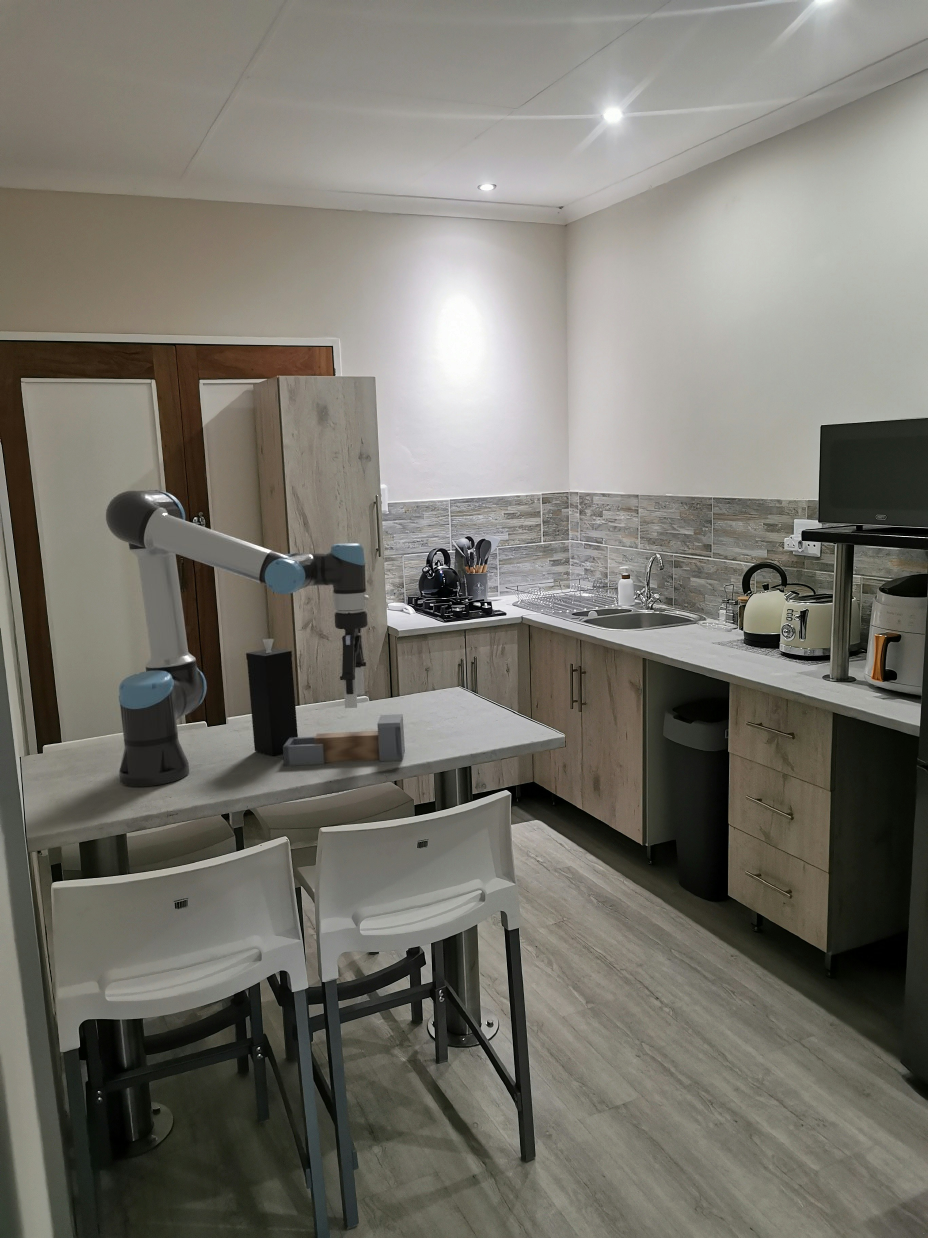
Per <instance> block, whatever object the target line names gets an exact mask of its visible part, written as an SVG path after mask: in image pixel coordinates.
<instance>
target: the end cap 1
mask: <svg viewBox="0 0 928 1238" xmlns="http://www.w3.org/2000/svg"><path fill="white" fill-rule="evenodd" d="M314 738H315V736H298V737H293V738H289V739H288V741H287V742H286V743H285V745H284V746H283V753H282V755H283V764H284V767H287V766H306V765H324V764H325V763H326V762H325V759H324V746H323V744H315V741H314Z"/></svg>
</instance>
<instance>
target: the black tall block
mask: <svg viewBox="0 0 928 1238" xmlns="http://www.w3.org/2000/svg"><path fill="white" fill-rule="evenodd" d="M274 641H275V638H263V639H262V642H263V646H264V648H265V649H261V650H256V651H250V652H246V653H245V658H246V664H247V672H248V673H247V676H248V686H249V687H248V688H249V699H250V710H251V720H252V722H251V723H252V736H253V744H254V746H253V748H254V752H256V753H258V754H262V755H263V754H264V755H267V756H270V757H274V756H279V755H283V746H284V745H285V743H286V742H287V741H288V739H289V738H293V737H299V735H298V733H299V732H298V723H297V709H296V696H295V695H296V694H295V684H294V683H295V680H294V670H293V669H294V668H293V653H292V651H293V650H289V649H284V648H283V649H282V648H274V647H273V643H274Z"/></svg>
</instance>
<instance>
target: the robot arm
mask: <svg viewBox="0 0 928 1238" xmlns="http://www.w3.org/2000/svg"><path fill="white" fill-rule="evenodd" d="M183 507H184V506H182V504H181V502H180V500H178V499H177V498H176V497H175V496H174V495H172V494H171V493H169V492H167V491H163V490H158V489H148V490H147V489H146V490H126V491H123V492H120V493H118V494H116V495H115V496H114V497H113V498H112V499H111V500H110V501H109V503H108V505H107V507H106V509H105V510H106V511H105V521H106V525H107V527H108V530H109V531H110V532H111V533H112V534H113V536H115V537H116V538H117V539H118V540H120V541H123V542H125V543H128V547H129V548H128V549H129V552H131V554H133V555H134V556H136V558H137V564H138V572H139V578H140V579H139V580H140V584H141V585H140V586H141V593H142V594H141V595H142V601H143V607H144V609H143V610H144V614H145V621H146V622H145V623H146V629H147V639H148V644H149V645H148V646H149V651H150V653H149V654H150V658H149V660H148V661H147V662H146V663H145V666H144V667H145V671H141V672H139V673H134V674H132V675H129V676H127V677H125V678H124V679H123V680H122V681H121V682H120V684H119V685H118V686H119V687H118V702H119V708H120V717H121V726H122V735H123V743H124V748H123V749H124V750H123V753H122V758H121V762H120V767H119V771H118V775H119V782H120V784H122V785H123V786H127V787H138V788H139V787H140V788H141V787H151V786H152V787H154V786H158V785H159V786H160V785H164V784H168V783H172V782H176V781H179V780H180V779H183V778H185V777H187V776H188V775H189V774H190V764H189V760H188V758H187V756H186V754H185V751H184V749H183V747H182V746H181V742H180V739H179V732H178V722H177V721H178V719H181V718H182V717H184V716H187V715H189V714H190V713H192V712H193V711H195V710H196V709H197V708H198V707H199V706H200V705H201V704H202V703H203V701H204V699H205V697H206V694H207V690H208V689H207V688H208V687H207V680H206V677H205V676H204V673H203V672H202V671H200V670H199V668H198V665H197V659H196V657H195V656H194V655H192V654H191V653H190V652H189V649H188V640H187V632H186V626H185V625H186V624H185V617H184V609H183V602H182V594H181V587H180V585H181V584H180V580H179V579H180V577H179V571H178V563H177V557H176V555H177V556H178V555H179V556H182V557H185V558H187V559H190V560H193V561H196V562H199V563H202V564H204V565H207V566H210V567H213V568H216V569H219V570H222V571H225V572H228V573H231V574H233V575H236V576H238V577H239V576H240V577H242V578H244V579H248V580H250V581H254V582H256V583H260V584H261V585H262V584H263V585H265V586H267V587H268V588H269V589H270V590H271V591H272V592H273V593H276V594H280V595H289V594H290V595H291V594H293V593H295V592H297V591H300V590H302V589H305V588H307V587H313V586H332V589H333V590H332V591H333V592H332V596H333V597H332V598H333V609H334V611H335V613H334V626H335V629H338V630H343V631H344V635H342V637H341V639H342V659H341V661H342V667H341V668H342V669H341V671H342V672H341V674H342V675H341V676H339V680H340V681H343V693H344V694H343V696H344V697H343V698H344V709H358V696H357V695H365V682H364V681H365V678H364V667H367V662H366V661H365V658H364V650H363V642H362V633H361V632H362V629H364V628H366V627H367V626H368V625H369V622H368V612H367V610H366V608H368V606H367V600H370V596H369V595H367V588H366V559H365V552H364V547H363V545H362V544H360V543H357V542H356V543H355V542H354V543H353V542H352V543H351V542H350V543H349V542H347V543H334V544H332V545H331V546H330V552H321V553H319V552H318V553H317V552H316V553H315V552H307V553H306V552H305V553H303V552H301V553H299V552H295V553H293V552H292V553H285V554H282V553H281V552H277V551H274V550H271V549H268V548H265V547H263V546H260V545H256V544H254V543H251V542H248V541H246V540H242V539H239V538H236V537H233V536H230V535H228V534H225V533H222V532H220V531H217V530H213V529H211V528H207V527H205V526H202V525H199V524H197V523H193V522H190V521H187V520H186V512H185V510H184V508H183Z"/></svg>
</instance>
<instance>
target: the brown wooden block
mask: <svg viewBox="0 0 928 1238" xmlns="http://www.w3.org/2000/svg"><path fill="white" fill-rule="evenodd" d="M314 737H315V738H314V741H315V744H323V746H324V759H325V763H326V762H346V761H351V762H352V761H366V760H367V761H368V760H371V761H372V760H380V756H379V741H378V730H365V731H364V730H363V731H345V732H344V731H343V732H342V731H341V732H328V733H327V732H326V733H325V732H324V733H316V735H315V736H314Z"/></svg>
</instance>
